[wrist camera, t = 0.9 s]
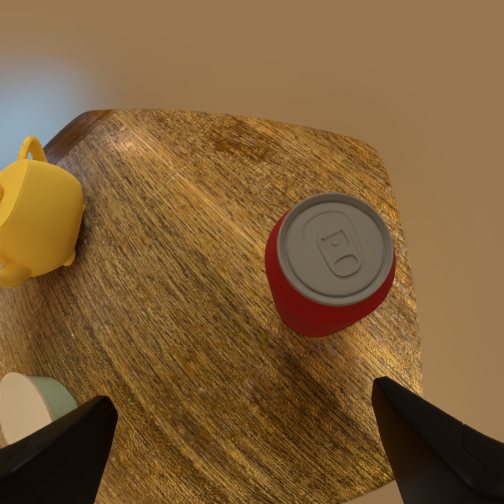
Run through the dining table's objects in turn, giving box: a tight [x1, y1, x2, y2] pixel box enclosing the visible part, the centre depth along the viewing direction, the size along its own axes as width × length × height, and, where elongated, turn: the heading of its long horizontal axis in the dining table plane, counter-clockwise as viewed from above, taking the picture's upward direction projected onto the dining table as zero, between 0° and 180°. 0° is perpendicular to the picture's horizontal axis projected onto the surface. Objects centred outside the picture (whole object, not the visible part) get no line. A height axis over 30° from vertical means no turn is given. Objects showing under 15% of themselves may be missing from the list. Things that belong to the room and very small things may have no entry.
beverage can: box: [265, 192, 396, 337], centre depth 18 cm, size 7×7×12 cm
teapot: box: [0, 136, 85, 287], centre depth 24 cm, size 13×20×12 cm
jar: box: [0, 372, 78, 445], centre depth 19 cm, size 11×11×5 cm
